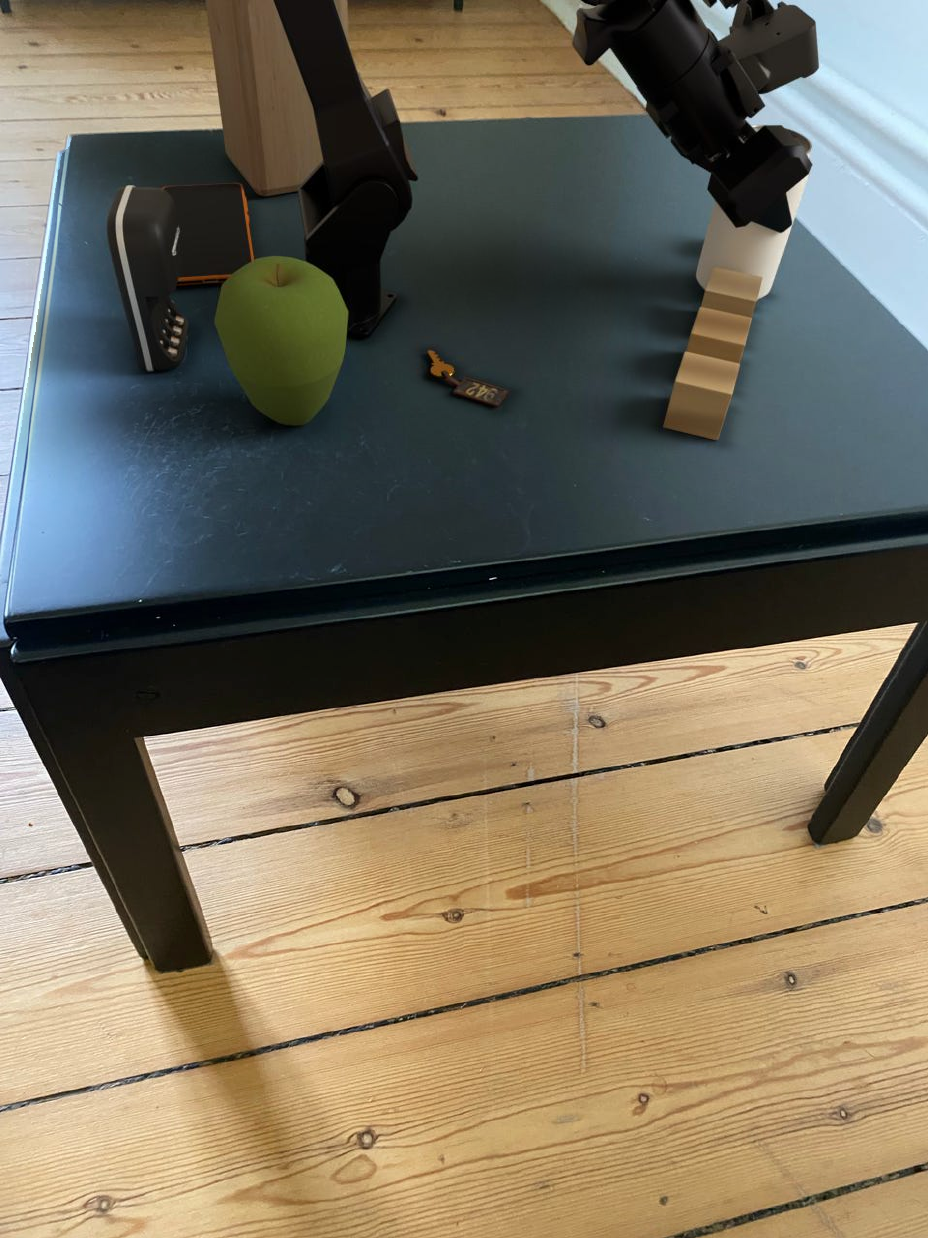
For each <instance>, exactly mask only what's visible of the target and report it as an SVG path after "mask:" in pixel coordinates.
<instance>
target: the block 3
mask: <svg viewBox="0 0 928 1238" xmlns="http://www.w3.org/2000/svg"><path fill="white" fill-rule="evenodd" d="M740 367H741V363H734V362H730V361H725V360H721V359H717V358H712V357H708V356H704V355H699V354H695V353H690V352H686V351H684V353H683V355H682V359H681V362H680V365H679V368H678V371H677V373H676V375H675V379H674V382H673V387H672V390H671V395H670V398H669V402H668V405H667V410H666V414H665V418H664V422H663V425H662V427H663V428H664V429H668V430H673V431H676V432H681V433H684V434H688V435H692V436H697V437H701V438H704V439H709V440H714V441H719V438H720V435H721V432H722V429H723V426H724V422H725V420H726V416H727V414H728V409H729V406H730V403H731V400H732V396H733V394H734V389H735V386H736V381H737V379H738V375H739V374H738V373H739V371H740Z"/></svg>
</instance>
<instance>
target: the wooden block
mask: <svg viewBox="0 0 928 1238" xmlns="http://www.w3.org/2000/svg"><path fill="white" fill-rule="evenodd" d="M334 1H335V4H336V7H337V10H338V13H339V16H340V19H341V22H342V26H343V29H344V32H345V35H346V38H347V41H348V44H349V45H350V39H349V37H350V36H349V11H348V9H349V8H348V0H334ZM205 7H206V13H207V22H208V29H209V38H210V43H211V44H210V45H211V51H212V57H213V58H212V59H213V60H212V61H213V66H214V74H215V81H216V82H215V83H216V88H217V89H216V90H217V96H218V97H217V98H218V104H219V110H220V111H219V112H220V118H221V127H222V133H223V134H222V135H223V139H224V140H223V141H224V149H225V153H226V155H227V157H228V159H229V160H230V161H231V163H232V164H233V166H234V167H235V168H236V169H237V170H238V171H239V174H241V175H242V177H243V178H244V179H245V180H246V182H247V183H248V184H249V186H250V187H251V188H252V190H253V191H254V193H256V195H258V196H263V197H270V196H276V195H281V194H287V193H292V192H298V187H299V186H300V185H301V184H302V183H303V182H304V180H305V179H306V178H307V177H308V176H309V175H310V174H311V173H312V172H313V171H314V170H315V169H316V167H317V166H318V165H319V164H320V163H321V162H322V161H323V158H322V153H321V147H320V142H319V137H318V132H317V127H316V122H315V116H314V111H313V106H312V103H311V101H310V98H309V95H308V93H307V90H306V87H305V85H304V82H303V79H302V76H301V74H300V71H299V68H298V66H297V63H296V60H295V58H294V55H293V52H292V49H291V47H290V44H289V41H288V39H287V36H286V33H285V30H284V28H283V25H282V22H281V20H280V17H279V14H278V12H277V9H276V6H275V3H274V1H273V0H205Z"/></svg>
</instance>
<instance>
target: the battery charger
mask: <svg viewBox="0 0 928 1238" xmlns="http://www.w3.org/2000/svg"><path fill="white" fill-rule="evenodd" d="M106 236H107V244H108V249H109V253H110V258H111V262H112V266H113V270H114V274H115V279H116V283H117V287H118V291H119V295H120V299H121V302H122V306H123V311H124V314H125V318H126V322H127V326H128V330H129V335H130V338H131V342H132V346H133V351H134V356H135V359H136V364H137V367H138V369H139V370H142V371H147V372H154V371H164V370H166V371H167V370H172V369H176V368H178V367H180V366H181V364H182V363H183V361H184V358H185V353H186V348H187V344H188V340H189V339H188V338H189V333H190V323H189V320H188V319H187V318H185V317H184V315H183V314H182V312H181V311H180V310H179V309H178V308H177V307H176V305H175V304H174V302H173V300H172V299H171V297H170V295H172V294H174V293H175V292H176V289H177V286H178V285H177V282H178V278H179V274H180V269H181V265H182V261H183V257H184V253H185V247H184V242H183V237H182V232H181V228H180V223H179V219H178V215H177V211H176V207H175V204H174V201H173V199H172V197H171V196H170V194H169V193H168V192H167V191H165V190H163V189H162V188H161V187H153V186H151V187H148V186H147V187H146V186H145V187H144V186H135V185H133V184H132V185H131V184H130V185H129V184H128V185H126V186H121V187H119V188H118V189H117V190H116V192H115V195H114V198H113V200H112V202H111V206H110V209H109V212H108V215H107V219H106Z"/></svg>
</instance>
